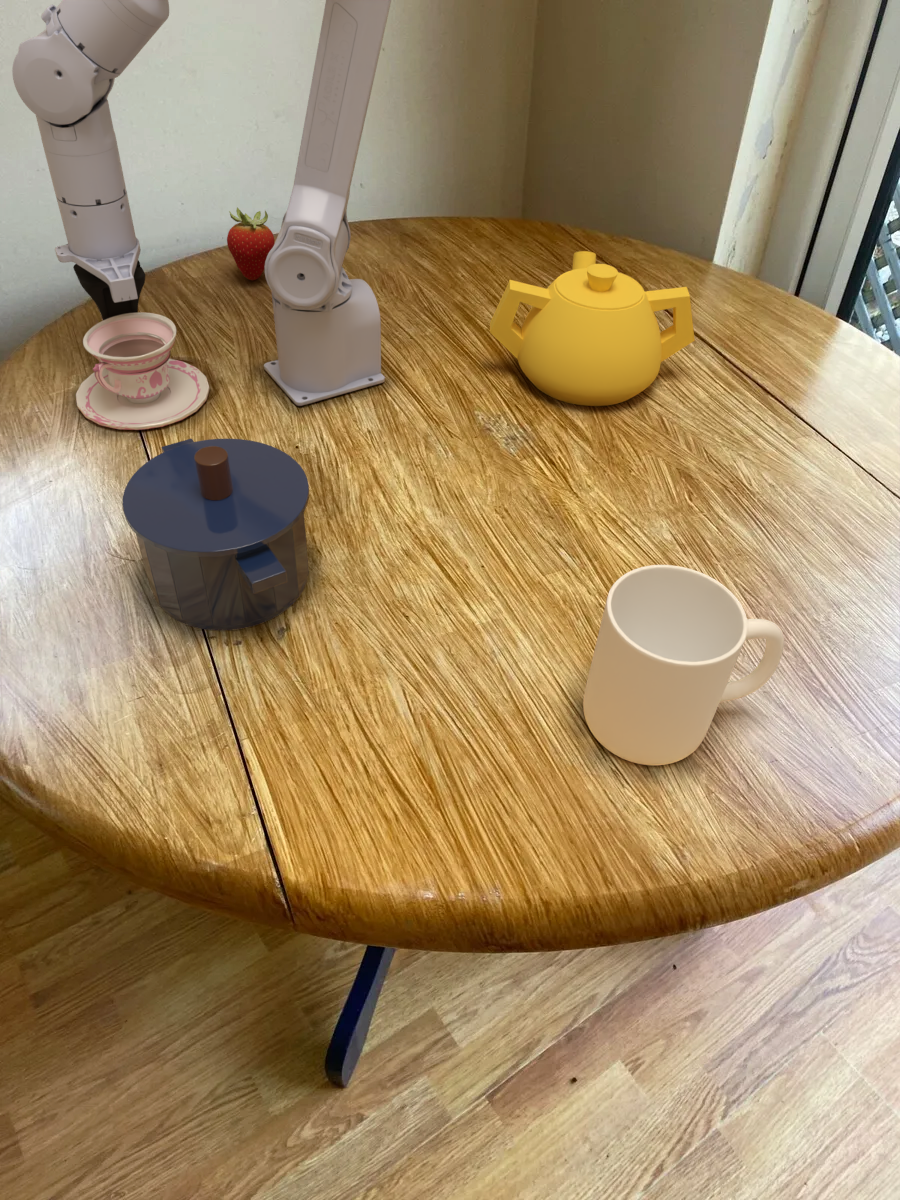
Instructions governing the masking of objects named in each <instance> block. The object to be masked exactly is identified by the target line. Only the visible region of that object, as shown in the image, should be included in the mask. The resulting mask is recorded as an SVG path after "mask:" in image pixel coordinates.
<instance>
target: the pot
mask: <svg viewBox="0 0 900 1200" xmlns="http://www.w3.org/2000/svg"><path fill="white" fill-rule="evenodd" d="M192 442H195V441H194V439H193V438H188V439H184V440H180V441H178V442H174V443H170V444H167V445H164V446H163V445H162V446H161V452H162V453H163V452H165V451H168V450H170V449H172V448H175V447H178V446H181V445H184V444H188V443H192ZM306 533H307V531H306V521H305V512H304V513H303V515H302V516H301V518H300V519H299V520H298V521H297V523H296V524H295V525H294V526H293V527H292V528H291V529H289V530H288V531H287V532H286V533H285V534H283V535H282V536H280V537H278V538H277V539H275V540H273V541H271V542H269V543H268V544H266V545H263V546H261V547H258V548H256V549H253V550H249V551H246V552H243V553H238V554H233V555H227V556H218V557H193V556H185V555H179V554H174V553H170V552H167V551H164V550H161V549H159V548H156V547H154V546H152V545H150V544H148V543H147V542H145V541H144V540H143V539H141V538H140V537H139V536H138V535H137V534H136V533H135V536H136V540H137V544H138V549H139V552H140V555H141V559H142V563H143V567H144V571H145V574H146V579H147V582H148V586H149V588H150V590H151V593H152V595H153V598H154V601H155V602H156V603H157V605H158V606H159V608H160V609H161V610H162V611H163V612H164V613H165V614H166V615H168V616H169V617H170V618H172V619H174V620H175V621H177V622H179V623H181V624H183V625H186V626H188V627H192V628H196V629H200V630H206V631H219V632H220V631H222V632H223V631H236V630H243V629H247V628H253V627H255V626H259V625H262V624H264V623H266V622H268V621H271V620H272V619H273V620H274V618H276V617H278V616H280V615H281V614H283V613H284V612H286V611H287V610H289V609H290V607H292V606H293V605H294V604H295V603H296V602H297V600H298V599H299V598H300V597H301V595H302V594H303V592H304V590H305V588H306V585H308V584H307V583H308V580H309V576H310V567H309V557H308V545H307V534H306Z"/></svg>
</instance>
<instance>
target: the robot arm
mask: <svg viewBox="0 0 900 1200" xmlns="http://www.w3.org/2000/svg"><path fill="white" fill-rule="evenodd" d="M169 3H170V2H169V0H61V1H60V3H58V5H57V6H56V5H55V4H50V5H49V6H47V7H46V8H45V9H44V11H43V12H42V13H41V15H40V18H41V20H42V21H43V23H45V29H44V30H43V31H42V32H40V33H38V35H36V36H32V37H29V38H27V39H25V40H24V41H23V40H22V42H21V43H19V46H18V50H17V53H16V55H15V56H14V60H13V64H12V70H11V71H12V80H13V84H14V87H15V90H16V92H17V94H18V96H19V97H20V99H21V101H22V102H23V103H24V105H25V106H26V107H27V108H28V110H30V111H31V112H32V113H33V114H34V115H35V119H36V123H37V125H38V129H39V134H40V138H41V143H42V147H43V150H44V154H45V158H46V162H47V163H46V164H47V166H48V170H49V174H50V179H51V182H52V186H53V191H54V195H55V197H56V201H57V205H58V210H59V213H60V217H61V222H62V226H63V229H64V234H65V237H66V241H67V243H66V244H62V245H58V246H56V247H55V248H54V251H55V255H56V258H57V261H59V263H61V264H62V263H63V264H64V263H74V265H73V266H72V267H73V271H74V273H75V275H76V277H77V280H78V282H79V284H80V286H81V287H82V289H83V290H84V291H85V292H86V293H87V294H88V296H89V297H90V298H91V299H92V301H93V302H94V303H95V305H96V307H97V309H98V311H99V313H100V316H101V318H102V321H103V320H106V319H108V318H111V317H114V316H118V315H122V314H127V313H137V312H139V302H140V297H141V293H142V290H143V287H144V285H145V283H146V272H145V271H144V269H143V267H142V266H141V262H140V260H139V259H140V255H141V245H140V244H141V243H140V240H139V239H138V238H137V236H136V231H135V226H134V222H133V217H132V211H131V205H130V202H129V196H128V192H127V186H126V181H125V177H124V171H123V166H122V162H121V161H122V160H121V157H120V151H119V146H118V142H117V137H116V133H115V129H114V124H113V119H112V114H111V109H110V104H109V100H108V97H109V94H110V93H111V91H112V90H113V88H114V84H115V81H116V78H119V77H120V76H121V75H122V73H123V72H124V71H125V70H126V69H127V67H128V66H129V65H130V64H131V62H132V61H133V60H134V59H135V58H136V57H137V56H138V54H139V53H140V52H141V51H142V50H143V48H144V47H145V46H146V45H147V43H148V42H150V40H151V39H152V38H153V37H154V35H155V34H156V33H157V31H159V30H160V28H161V27H162V26H163V25H164V24H165V22H166V21H167V20H169V16H170V4H169ZM391 3H392V0H325V4H324V9H323V15H322V22H321V26H320V32H319V38H318V43H317V44H318V45H317V49H316V55H315V60H314V66H313V73H312V76H311V77H312V78H311V84H310V88H309V89H310V90H309V95H308V100H307V105H306V111H305V116H304V123H303V128H302V133H301V139H300V145H299V152H298V157H297V163H296V167H295V169H296V170H295V174H294V180H293V185H292V189H291V193H290V196H289V197H290V198H289V200H288V201H289V202H288V205H287V208H286V211H285V213H284V215H283V217H282V220H281V225H280V230H279V232H278V234H277V237H276V239H275V243H274V246H273V248H272V249H271V250H270V252H269V253H268V255H267V258H266V261H265V269H264V275H265V280H266V283H267V285H268V287H269V289H270V291H271V299H272V300H271V301H272V310H273V321H274V332H275V341H276V353H277V359H275V360H271V361H268V362H265V363H264V364H263V370H264V371H265V372H266V373H267V374H268V375H269V376H270V377H271V378H272V380H273V381H274V382H275V383H276V384H277V385H278V386H279V387H280V389H281V390H282V391H283V392H284V394H286V396H288V398H289V399H290V400H291V401H292V402H293V404H294V405H296V406H298V407H303V406H306V405H309V404H313V403H316V402H320V401H323V400H327V399H331V398H334V397H338V396H341V395H344V394H348V393H351V392H355V391H358V390H361V389H362V390H363V389H365V388H370V387H372V386H376V385H380V384H383V383H384V382H385V381H386V376H384V375H383V373H382V323H381V322H382V319H381V312H380V308H379V304H378V300H377V297H376V295H375V293H374V291H373V289H372V288H371V285H369V283H367V281H365V280H364V279H362V278H351V279H350V278H349V276H348V274H347V272H346V270H345V268H344V267H343V264H344V260H345V257H346V255H347V252H348V250H349V248H350V245H351V238H352V235H351V234H352V233H351V228H350V224H349V220H348V215H347V213H348V211H347V210H348V205H349V199H350V196H351V195H350V194H351V185H352V182H353V181H352V180H353V176H354V171H355V168H356V167H355V166H356V163H357V159H358V155H359V149H360V144H361V140H362V135H363V131H364V126H365V122H366V117H367V114H368V108H369V105H370V99H371V94H372V90H373V85H374V82H375V76H376V71H377V68H378V63H379V59H380V54H381V49H382V44H383V40H384V36H385V31H386V27H387V22H388V17H389V12H390V8H391Z"/></svg>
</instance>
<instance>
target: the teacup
mask: <svg viewBox="0 0 900 1200" xmlns="http://www.w3.org/2000/svg"><path fill="white" fill-rule="evenodd" d="M176 337H177V327H176V325H175V323H174V322H173V320H171V319H170V318H168V317H167V316H165V315H162V314H159V313H154V312H139V311H138V312H137V313H127V314H122V315H118V316H114V317H111V318H108V319H106V320H103V319H102V321H101V320H100V322H97V323H96V324H94V325H93V326H92V327H91V328H89V329H88V330H87V331H86V333H85V334H84V336H83V338H82V345H83V348H84V349H85V351H86V352H88V353H89V354H90V355H91V356H93V357H94V358H95V359H96V360H98V362H99V363H95V365H94V367H93V368H92V371H93V372H92V373H91V374H89V376H87V377H86V378H85V379H84V380H82V382H81V383H80V384H79V386H78V389H77V391H76V393H75V399H76V407H77V409H78V410H79V411H80V412H81V414H82V415H83V416H84V417H85V418H86V419H87V420H89V421H91V422H93V423H95V424H97V425H99V426H102V427H107V428H110V429H116V430H126V431H127V430H131V431H143V430H149V429H155V428H162V427H165V426H168V425H171V424H174V423H177V422H180V421H183V420H184V419H186V418H188V417H189V416H191V415H193V414H194V413H197V412H198V411H199V409H200V408H201V407H202V406H203V405H204V404H205V403H206V402H207V400H208V398H209V397H208V396H209V393H210V385H209V382H208V379H207V376H206V374H204V373H203V372H202V371H201V370H200V369H199V368H198V367H196V366H194V365H192V364H189V363H187V362H185V361H183V360H177V359H173V358H171V355H172V354H171V350H172V348H173V347H174V345H175V342H176Z"/></svg>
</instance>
